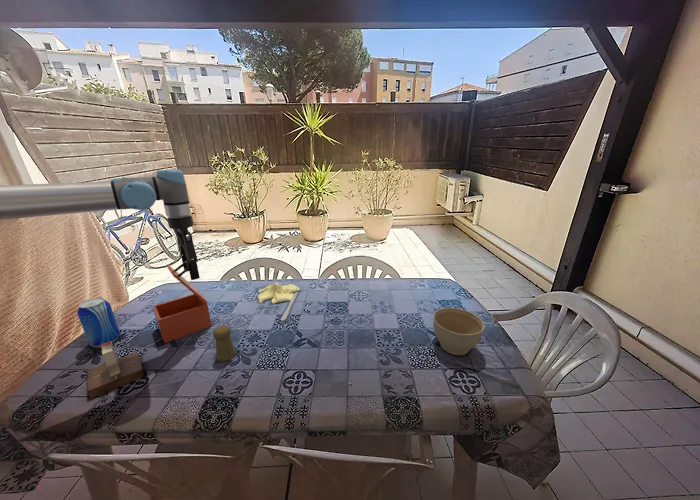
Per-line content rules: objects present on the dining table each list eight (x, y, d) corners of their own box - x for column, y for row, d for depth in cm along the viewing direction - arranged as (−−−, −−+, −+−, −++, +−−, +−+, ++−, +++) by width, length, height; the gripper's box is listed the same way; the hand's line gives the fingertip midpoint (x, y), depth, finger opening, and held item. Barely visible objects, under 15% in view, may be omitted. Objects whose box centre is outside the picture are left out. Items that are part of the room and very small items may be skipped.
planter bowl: (480, 340, 98) (485, 314, 95) (477, 369, 85) (482, 340, 81) (435, 327, 105) (438, 303, 102) (425, 352, 92) (428, 325, 88)
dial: (120, 372, 79) (112, 349, 76) (110, 376, 78) (101, 353, 75) (118, 362, 83) (111, 340, 80) (109, 366, 81) (101, 343, 79)
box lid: (173, 276, 92) (191, 261, 95) (165, 265, 101) (182, 252, 103) (206, 304, 102) (221, 290, 105) (197, 292, 111) (211, 280, 113)
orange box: (164, 344, 96) (158, 320, 92) (158, 328, 104) (152, 306, 101) (211, 326, 106) (207, 304, 102) (202, 313, 114) (198, 292, 111)
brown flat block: (90, 399, 74) (87, 390, 73) (90, 378, 81) (87, 370, 80) (144, 376, 82) (141, 368, 81) (140, 359, 89) (137, 351, 88)
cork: (239, 352, 92) (235, 325, 88) (225, 364, 87) (220, 335, 83) (227, 347, 94) (222, 320, 90) (212, 358, 89) (206, 330, 85)
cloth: (303, 286, 137) (302, 274, 135) (291, 305, 120) (290, 292, 118) (261, 284, 140) (260, 273, 138) (244, 302, 123) (242, 290, 121)
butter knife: (277, 320, 109) (284, 319, 108) (294, 289, 134) (300, 289, 134) (277, 321, 109) (285, 321, 109) (294, 290, 134) (300, 290, 134)
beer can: (84, 345, 95) (69, 305, 89) (112, 331, 102) (99, 294, 97) (99, 352, 92) (83, 311, 86) (126, 337, 99) (113, 298, 94)
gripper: (200, 219, 89) (211, 281, 97) (184, 210, 104) (195, 264, 112) (173, 223, 84) (188, 287, 92) (161, 212, 99) (174, 268, 107)
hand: (191, 274), depth 102 cm, fingers open, 9 cm apart
